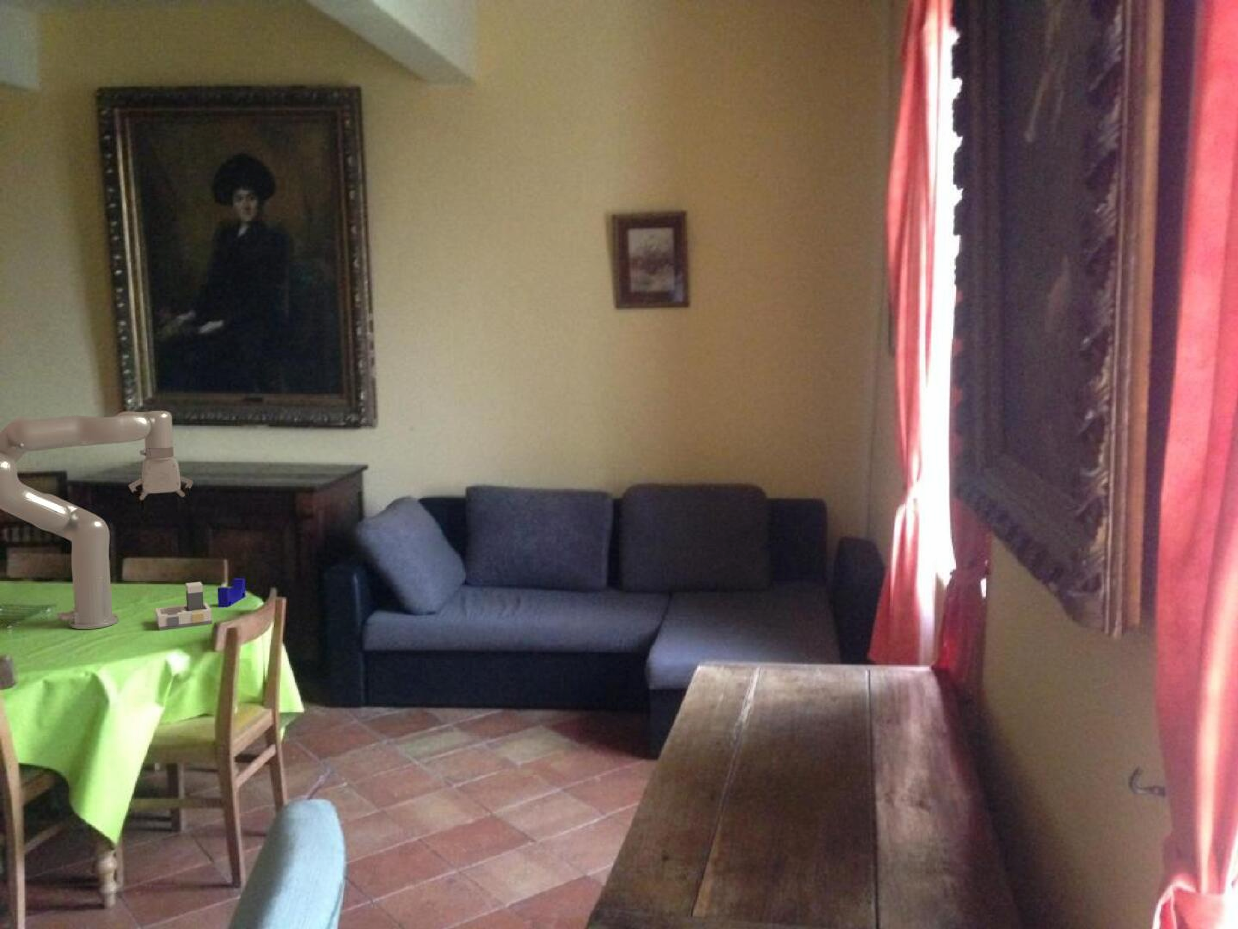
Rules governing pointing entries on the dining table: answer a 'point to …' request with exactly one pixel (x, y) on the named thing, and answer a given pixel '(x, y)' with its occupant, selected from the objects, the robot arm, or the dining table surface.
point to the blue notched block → (231, 593)
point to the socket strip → (182, 617)
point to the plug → (194, 596)
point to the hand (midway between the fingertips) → (162, 511)
